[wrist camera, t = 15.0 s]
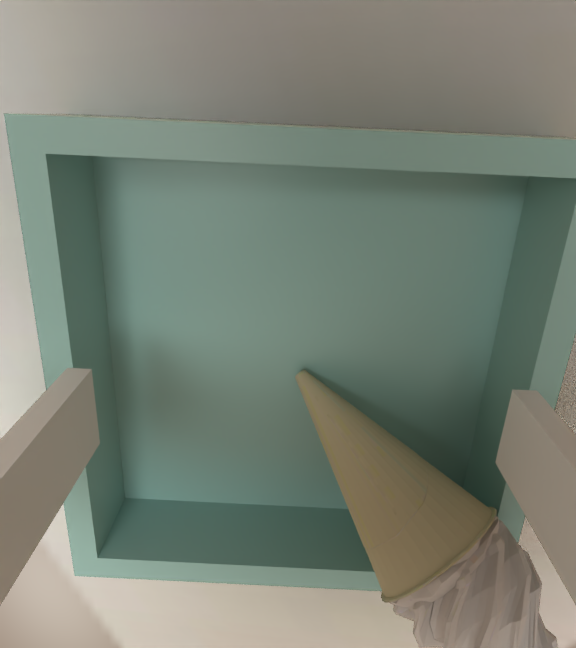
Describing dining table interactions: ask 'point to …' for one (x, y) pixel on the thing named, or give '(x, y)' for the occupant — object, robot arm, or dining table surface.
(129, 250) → the tray
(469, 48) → the dining table surface
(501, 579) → the ice cream cone
